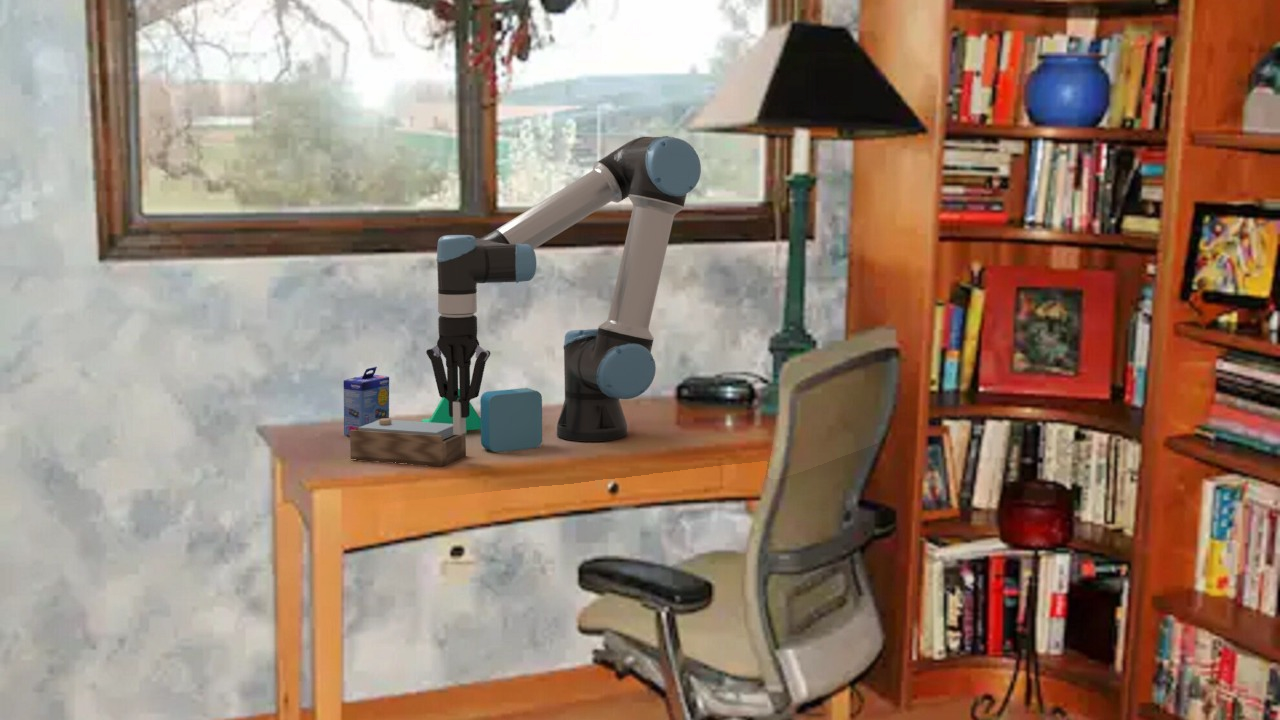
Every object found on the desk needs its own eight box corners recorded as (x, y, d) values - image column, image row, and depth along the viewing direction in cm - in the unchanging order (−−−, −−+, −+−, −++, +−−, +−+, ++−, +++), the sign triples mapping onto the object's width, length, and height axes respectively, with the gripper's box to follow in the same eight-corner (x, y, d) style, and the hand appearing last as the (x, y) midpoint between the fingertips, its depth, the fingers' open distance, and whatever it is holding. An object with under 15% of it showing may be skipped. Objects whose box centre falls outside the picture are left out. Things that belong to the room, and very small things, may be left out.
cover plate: (456, 433, 308) (456, 419, 308) (436, 442, 300) (436, 427, 299) (380, 428, 314) (380, 414, 313) (359, 437, 305) (358, 422, 305)
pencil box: (465, 455, 309) (465, 426, 309) (442, 466, 299) (441, 436, 298) (376, 449, 316) (376, 420, 315) (350, 459, 305) (349, 430, 304)
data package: (533, 443, 321) (532, 387, 320) (542, 447, 318) (542, 390, 316) (480, 449, 315) (479, 392, 314) (490, 453, 312) (489, 395, 310)
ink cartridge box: (363, 438, 327) (361, 371, 325) (342, 436, 329) (340, 369, 327) (391, 430, 335) (389, 364, 333) (371, 428, 338) (369, 363, 336)
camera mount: (473, 427, 340) (473, 381, 338) (483, 433, 333) (482, 386, 331) (420, 431, 335) (419, 384, 334) (428, 437, 328) (427, 390, 327)
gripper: (496, 313, 301) (497, 432, 305) (435, 311, 305) (437, 428, 309) (480, 318, 294) (482, 439, 297) (418, 315, 298) (421, 435, 301)
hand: (459, 433), depth 303 cm, fingers closed
